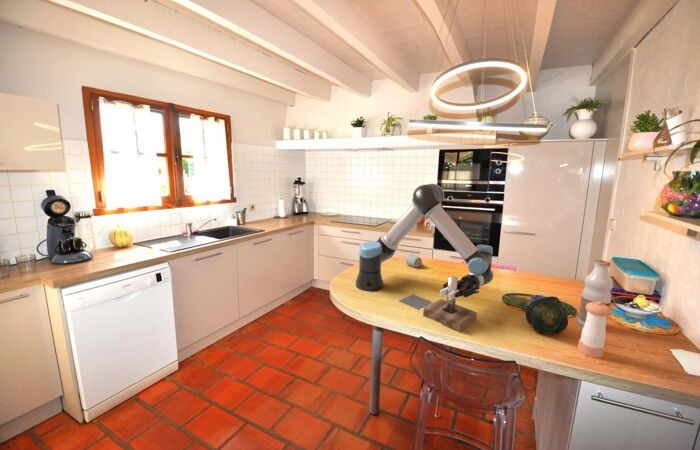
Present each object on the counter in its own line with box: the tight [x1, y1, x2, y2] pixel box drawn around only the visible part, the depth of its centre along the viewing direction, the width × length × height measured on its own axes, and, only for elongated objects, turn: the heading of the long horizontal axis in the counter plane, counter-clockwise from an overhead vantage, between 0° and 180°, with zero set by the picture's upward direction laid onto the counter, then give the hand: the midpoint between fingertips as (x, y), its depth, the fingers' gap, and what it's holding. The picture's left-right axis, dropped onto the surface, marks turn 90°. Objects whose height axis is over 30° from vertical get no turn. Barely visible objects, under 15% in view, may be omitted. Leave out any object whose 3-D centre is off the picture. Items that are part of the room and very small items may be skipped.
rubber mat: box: [398, 294, 434, 311], centre depth 146 cm, size 12×12×1 cm
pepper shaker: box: [577, 302, 612, 359], centre depth 107 cm, size 7×7×19 cm
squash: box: [524, 296, 569, 335], centre depth 122 cm, size 14×15×15 cm
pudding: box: [531, 294, 546, 302], centre depth 144 cm, size 12×12×5 cm
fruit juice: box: [577, 259, 614, 328], centre depth 125 cm, size 9×9×28 cm
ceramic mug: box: [405, 253, 424, 268], centre depth 200 cm, size 11×8×8 cm
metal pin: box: [446, 275, 458, 313], centre depth 129 cm, size 4×4×15 cm
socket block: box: [422, 298, 478, 333], centre depth 131 cm, size 17×14×4 cm
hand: (445, 295), depth 125 cm, fingers closed on metal pin, 4 cm apart
